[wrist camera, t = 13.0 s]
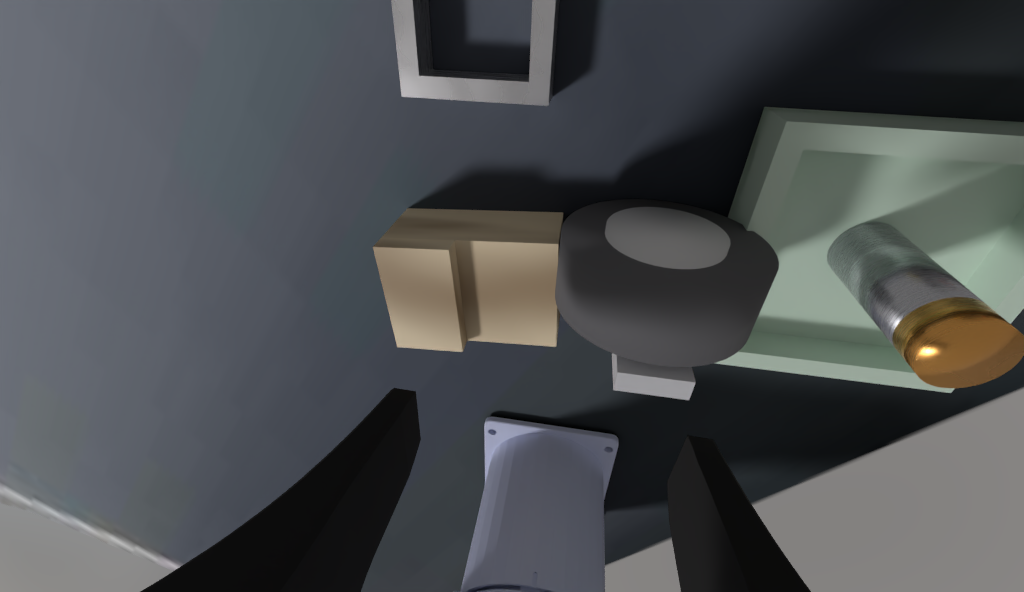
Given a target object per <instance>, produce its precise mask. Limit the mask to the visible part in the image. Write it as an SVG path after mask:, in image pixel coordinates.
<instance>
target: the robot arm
mask: <svg viewBox="0 0 1024 592" xmlns="http://www.w3.org/2000/svg"><path fill="white" fill-rule="evenodd" d="M484 430H485V487H484V492H483V496H482V500H481V505H480V509H479V513H478V518H477V522H476V526H475V531H474V535H473V539H472V544H471V548H470V552H469V557H468V561H467V565H466V570H465V574H464V578H463V583H462V587H461V591H460V592H605V560H604V499H605V495H606V491H607V487H608V483H609V480H610V476H611V472H612V468H613V464H614V461H615V457H616V453H617V449H618V445H619V443H618V438H617V436H615V435H613V434H608V433H601V432H594V431H588V430H581V429H574V428H567V427H561V426H554V425H547V424H540V423H533V422H527V421H520V420H513V419H506V418H500V417H488V418H487V419H486V421H485V425H484ZM420 440H421V438H420V428H419V419H418V409H417V400H416V391H410V390H403V389H397V388H394V389H392V390H391V391H390V392H389V393H388V394H387V395H386V396H385V397H384V398H383V399H382V400H381V401H380V403H379V404H378V405H377V406H376V407H375V408H374V409H373V410H372V411H371V412H370V413H369V414H368V415H367V416H366V417H365V418H364V419H363V421H362V422H361V423H360V424H359V425H358V426H357V427H356V428H355V429H354V430H353V431H352V432H351V433H350V434H349V435H348V436H347V437H346V438H345V439H344V440H343V441H341V442H340V443H339V444H338V445H337V446H336V447H335V448H334V449H333V450H332V451H331V452H330V453H329V454H328V455H327V456H326V457H325V458H324V459H322V460H321V461H320V462H319V463H318V464H317V465H316V466H315V467H314V468H312V469H311V470H310V471H309V472H308V473H307V474H306V475H305V476H304V477H302V478H301V479H300V480H299V481H298V482H297V483H295V484H294V485H293V486H292V487H291V488H289V489H288V490H287V491H286V492H285V493H283V494H282V495H281V496H280V497H278V498H277V499H276V500H275V501H273V502H272V503H271V504H270V505H268V506H267V507H266V508H265V509H263V510H262V511H261V512H259V513H258V514H257V515H255V516H254V517H253V518H251V519H250V520H248V521H247V522H246V523H244V524H243V525H242V526H240V527H239V528H238V529H236V530H235V531H233V532H232V533H231V534H229V535H228V536H226V537H225V538H224V539H222V540H221V541H219V542H218V543H216V544H215V545H213V546H212V547H210V548H209V549H207V550H206V551H204V552H203V553H201V554H200V555H198V556H197V557H195V558H193V559H192V560H190V561H189V562H187V563H186V564H184V565H183V566H181V567H180V568H178V569H176V570H175V571H173V572H172V573H170V574H169V575H167V576H166V577H164V578H163V579H161V580H159V581H158V582H156V583H154V584H153V585H151V586H149V587H147V588H146V589H144V590H143V591H141V592H361V589H362V586H363V583H364V580H365V577H366V575H367V572H368V570H369V567H370V565H371V562H372V560H373V557H374V555H375V553H376V550H377V548H378V546H379V544H380V541H381V539H382V537H383V535H384V532H385V530H386V528H387V526H388V523H389V521H390V519H391V516H392V514H393V512H394V510H395V507H396V505H397V503H398V501H399V498H400V496H401V494H402V491H403V489H404V487H405V485H406V482H407V480H408V478H409V475H410V472H411V469H412V466H413V463H414V460H415V456H416V453H417V450H418V447H419V443H420ZM667 491H668V510H669V523H670V530H671V536H672V542H673V547H674V553H675V559H676V565H677V570H678V576H679V582H680V587H681V592H811V591H810V590H809V588H808V587H807V586H806V584H805V583H804V582H803V580H802V579H801V578H800V576H799V575H798V573H797V572H796V571H795V569H794V568H793V567H792V565H791V564H790V562H789V561H788V559H787V558H786V556H785V555H784V554H783V552H782V551H781V549H780V548H779V546H778V545H777V543H776V542H775V540H774V539H773V537H772V536H771V534H770V533H769V531H768V530H767V528H766V526H765V525H764V523H763V522H762V520H761V519H760V517H759V516H758V514H757V513H756V511H755V509H754V508H753V506H752V505H751V503H750V501H749V500H748V498H747V496H746V495H745V493H744V492H743V490H742V488H741V487H740V485H739V483H738V482H737V480H736V478H735V477H734V475H733V473H732V471H731V470H730V468H729V466H728V465H727V463H726V461H725V459H724V458H723V456H722V454H721V452H720V451H719V449H718V447H717V445H716V444H715V442H714V441H713V440H712V439H707V438H701V437H695V436H688V435H687V438H686V440H685V442H684V445H683V447H682V449H681V451H680V454H679V456H678V458H677V461H676V463H675V465H674V467H673V470H672V472H671V474H670V476H669V479H668V481H667ZM453 592H459V591H453Z"/></svg>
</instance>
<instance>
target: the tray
mask: <svg viewBox="0 0 1024 592" xmlns="http://www.w3.org/2000/svg"><path fill="white" fill-rule="evenodd" d="M728 218H730V219H732V220H735V221H737V222H739V223H741V224H743V226H744V227H745V229H746V230H747V231H754V232H756V233H757V234H758V235H760V236H761V237H762V238H763V239H765V240H766V241H767V242H768V243H769V244H770V246H771V247H772V248H773V249H774V251H775V253H776V255H777V257H778V261H779V269H778V272H777V274H776V277H775V279H774V281H773V283H772V286H771V288H770V290H769V293H768V295H767V297H766V300H765V302H764V304H763V306H762V309H761V311H760V313H759V316H758V318H757V320H756V322H755V325H754V327H753V329H752V332H751V334H750V336H749V338H748V341H747V342H746V344H745V345H744V346H743V348H742V349H741V350H739V351H738V352H737V353H736V354H734V355H732V356H731V357H729V358H727V359H725V360H722V361H719V362H716V364H724V365H732V366H740V367H748V368H756V369H764V370H772V371H780V372H788V373H796V374H804V375H812V376H820V377H828V378H836V379H844V380H851V381H859V382H867V383H875V384H883V385H891V386H899V387H907V388H915V389H923V390H931V391H939V392H947V393H951V392H952V391H953V390H954V389H955V388H941V387H936V386H932V385H929V384H927V383H925V382H924V381H922V380H921V379H920V378H919V377H918V376H917V374H916V373H915V372H914V371H913V370H912V368H911V367H910V366H909V365H908V363H907V362H906V361H905V360H904V358H903V357H902V356H901V355H900V353H899V352H898V351H897V350H896V349H895V347H894V346H893V345H892V344H891V342H890V341H889V340H888V339H887V337H886V336H885V335H884V334H883V332H882V331H881V330H880V329H879V327H878V326H877V325H876V324H875V323H874V321H873V320H872V319H871V318H870V316H869V315H868V314H867V313H866V311H865V310H864V309H863V308H862V306H861V305H860V304H859V303H858V302H857V300H856V299H855V298H854V297H853V295H852V294H851V293H850V292H849V290H848V289H847V288H846V287H845V285H844V284H843V283H842V282H841V281H840V279H839V278H838V277H837V276H836V274H835V273H834V272H833V271H832V269H831V268H830V267H829V265H828V262H827V253H828V250H829V248H830V246H831V244H832V243H833V242H834V240H835V239H836V238H837V237H838V236H840V235H841V234H842V233H843V232H845V231H847V230H848V229H850V228H852V227H854V226H857V225H860V224H864V223H869V222H881V223H886V224H889V225H891V226H893V227H894V228H895V229H897V230H898V231H899V232H900V233H901V234H903V235H904V236H905V237H906V238H907V239H909V240H910V241H911V242H912V243H913V244H915V245H916V246H917V247H918V248H919V249H921V250H922V251H923V252H924V253H925V254H927V255H928V256H929V257H930V258H932V259H933V260H934V261H935V262H936V263H938V264H939V265H940V266H941V267H942V268H944V269H945V270H946V271H947V272H948V273H950V274H951V275H952V276H953V277H954V278H956V279H957V280H958V281H959V282H960V283H962V284H963V285H964V286H965V287H966V288H968V289H969V290H970V291H971V292H972V293H974V294H975V295H976V296H977V297H978V298H980V299H981V300H982V301H983V302H984V303H986V304H987V305H988V306H989V307H990V308H992V309H993V310H994V311H995V312H996V313H998V314H999V315H1000V316H1001V317H1002V318H1004V319H1005V320H1006V321H1007V322H1008V323H1010V324H1011V323H1012V321H1013V320H1014V319H1015V318H1016V317H1017V316H1018V314H1019V313H1020V312H1021V311H1022V310H1023V309H1024V122H1013V121H996V120H979V119H962V118H945V117H929V116H912V115H895V114H878V113H861V112H845V111H828V110H811V109H794V108H777V107H764V109H763V112H762V115H761V118H760V121H759V124H758V127H757V130H756V133H755V136H754V139H753V142H752V145H751V148H750V151H749V154H748V157H747V160H746V163H745V166H744V169H743V172H742V175H741V178H740V181H739V184H738V187H737V190H736V193H735V196H734V199H733V203H732V206H731V209H730V212H729V215H728Z"/></svg>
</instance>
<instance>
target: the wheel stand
mask: <svg viewBox="0 0 1024 592" xmlns="http://www.w3.org/2000/svg"><path fill="white" fill-rule="evenodd" d="M778 269H779V261H778V257H777V255H776V253H775V251H774V249H773V248H772V247H771V246H770V244H769V243H768V242H767V241H766V240H765V239H763V238H762V237H761V236H760V235H758V234H757V233H756V232H754V231H747V230H746V229H745V227H744V226H743V224H741V223H739V222H737V221H735V220H732V219H730V218H728V217H725V216H723V215H720V214H717V213H714V212H711V211H708V210H705V209H702V208H698V207H694V206H690V205H685V204H680V203H674V202H668V201H660V200H648V199H620V200H610V201H604V202H599V203H595V204H591V205H588V206H585V207H583V208H580V209H578V210H576V211H575V212H573V213H572V214H571V215H570V216H568V217H567V218H566V220H565V221H564V223H563V225H562V229H561V238H560V248H559V257H558V267H557V277H556V287H555V300H556V305H557V307H558V310H559V312H560V314H561V315H562V317H563V318H564V320H565V321H566V322H567V323H568V324H569V325H570V326H571V328H573V329H574V330H575V331H576V332H577V333H578V334H579V335H581V336H582V337H584V338H585V339H587V340H588V341H589V342H591V343H593V344H595V345H597V346H598V347H600V348H602V349H604V350H606V351H609V352H611V353H612V367H613V390H617V391H624V392H632V393H639V394H646V395H654V396H661V397H668V398H676V399H683V400H689V399H690V397H691V394H692V391H693V389H694V386H695V383H696V382H695V378H694V374H693V370H692V367H694V366H703V365H708V364H712V363H716V362H719V361H722V360H725V359H727V358H729V357H731V356H732V355H734V354H736V353H737V352H738V351H739V350H741V349H742V348H743V346H744V345H745V344H746V342H747V341H748V338H749V336H750V334H751V332H752V329H753V327H754V325H755V322H756V320H757V318H758V316H759V313H760V311H761V309H762V306H763V304H764V302H765V300H766V297H767V295H768V293H769V290H770V288H771V286H772V283H773V281H774V279H775V277H776V274H777V272H778Z"/></svg>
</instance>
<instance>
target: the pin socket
mask: <svg viewBox="0 0 1024 592" xmlns="http://www.w3.org/2000/svg"><path fill="white" fill-rule="evenodd" d="M391 1H392V11H393V20H394V29H395V39H396V48H397V57H398V67H399V76H400V85H401V95H402V97H415V98H431V99H447V100H463V101H479V102H495V103H511V104H527V105H543V106H548V105H549V103H550V101H551V99H552V95H553V81H554V67H555V54H556V40H557V27H558V13H559V0H533V2H532V25H531V47H530V69H529V75H525V74H507V73H489V72H470V71H452V70H434V69H433V58H432V43H431V29H430V14H429V0H391Z"/></svg>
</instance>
